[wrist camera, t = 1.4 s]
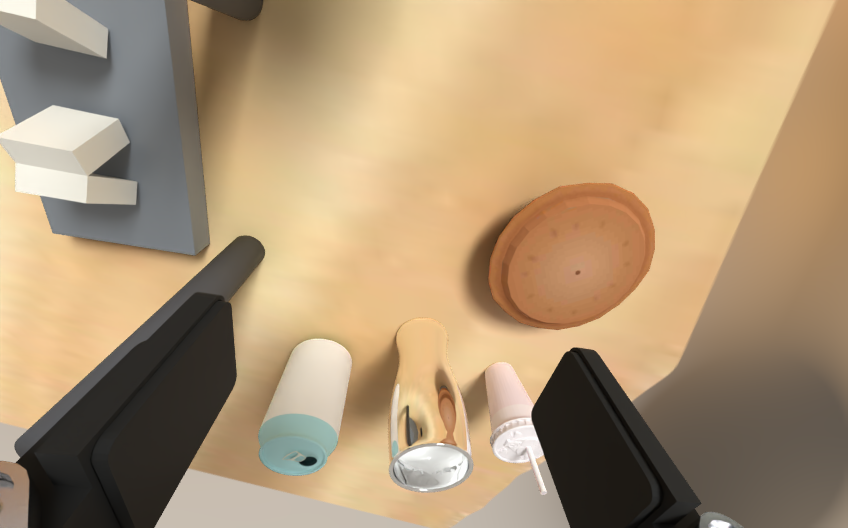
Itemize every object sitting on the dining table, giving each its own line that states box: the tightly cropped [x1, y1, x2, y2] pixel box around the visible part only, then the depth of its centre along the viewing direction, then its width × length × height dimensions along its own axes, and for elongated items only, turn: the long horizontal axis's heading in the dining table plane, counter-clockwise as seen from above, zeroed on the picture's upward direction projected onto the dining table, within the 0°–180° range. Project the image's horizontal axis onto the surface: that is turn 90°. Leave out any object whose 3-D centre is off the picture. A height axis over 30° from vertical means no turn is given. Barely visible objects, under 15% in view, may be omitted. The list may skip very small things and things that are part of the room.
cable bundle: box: [15, 236, 265, 457], centre depth 23 cm, size 3×3×20 cm
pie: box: [488, 183, 655, 330], centre depth 31 cm, size 15×16×5 cm
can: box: [258, 339, 352, 476], centre depth 34 cm, size 7×7×12 cm
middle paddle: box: [0, 105, 130, 176], centre depth 22 cm, size 2×4×4 cm, turn 77°
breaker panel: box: [0, 0, 210, 255], centre depth 25 cm, size 20×11×2 cm, turn 167°
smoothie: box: [485, 362, 547, 495], centre depth 36 cm, size 6×6×14 cm
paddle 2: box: [15, 163, 137, 205], centre depth 23 cm, size 2×4×4 cm, turn 78°
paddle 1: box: [0, 0, 108, 59], centre depth 18 cm, size 2×4×4 cm, turn 78°
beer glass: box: [388, 318, 473, 492], centre depth 32 cm, size 7×7×15 cm
